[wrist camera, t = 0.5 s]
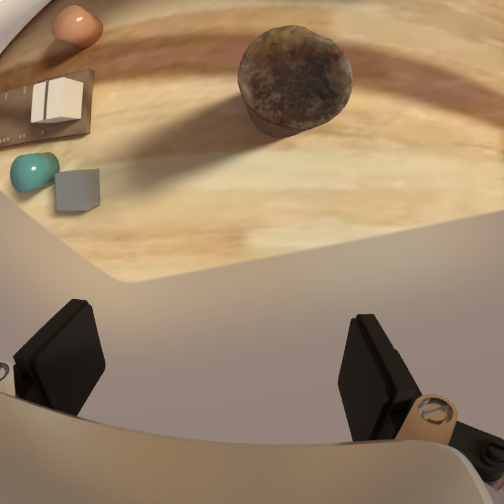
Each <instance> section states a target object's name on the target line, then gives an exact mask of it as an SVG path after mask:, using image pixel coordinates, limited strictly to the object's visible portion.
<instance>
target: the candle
mask: <svg viewBox="0 0 504 504" xmlns="http://www.w3.org/2000/svg"><path fill="white" fill-rule="evenodd" d="M238 85H239V88H240V92H241V95H242V97H243V99H244V101H245V103H246V105H247V108H248V110H249V113H250V116H251V118H252V120H253V122H254V123H255V125H256V126H257V127H258V128H259V129H260V130H261V131H263V132H264V133H266V134H268V135H271V136H274V137H290V136H294V135H296V134H299V133H301V132H303V131H306V130H309V129H312V128H315V127H317V126H320V125H322V124H325V123H327V122H328V121H330V120H331V119H333V118H334V117H335V116H337V115H338V114H339V113H340V112H341V111H342V109H343V108H344V107H345V105H346V104H347V102H348V100H349V97H350V94H351V91H352V86H353V81H352V70H351V66H350V63H349V61H348V59H347V57H346V56H345V54H344V52H343V51H342V49H341V48H340V47H339V46H337V45H336V44H335V43H334V42H333V41H332V40H330V39H327V38H324V37H322V36H320V35H318V34H316V33H314V32H312V31H309V30H308V29H307V28H306V27H301V26H295V25H289V26H284V27H279V28H273V29H271V30H269V31H267V32H265V33H263V34H262V35H261V36H260V37H258V38H257V39H256V40H255V41H253V42H252V43H251V44H250V45H249V47H248V48H247V50H246V51H245V53H244V56H243V58H242V60H241V62H240V67H239V71H238Z"/></svg>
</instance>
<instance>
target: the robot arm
mask: <svg viewBox="0 0 504 504" xmlns="http://www.w3.org/2000/svg"><path fill="white" fill-rule="evenodd" d="M13 358H14V360H15V362H16V364H15V365H14V366H13V365H12V364H11V363H10V362H8V361H6V360H0V504H504V440H503V439H501V438H499V437H496V436H493V435H491V434H489V433H486V432H483V431H481V430H478V429H476V428H473V427H471V426H468V425H466V424H464V423H461V422H459V421H456V420H457V415H458V412H457V409H456V407H455V406H454V404H453V403H452V402H451V401H450V400H449V399H447V398H445V397H443V396H440V395H436V394H427V395H422V393H421V392H420V390H419V388H418V386H417V384H416V382H415V381H414V379H413V377H412V376H411V374H410V372H409V370H408V368H407V366H406V365H405V363H404V361H403V359H402V358H401V356H400V354H399V353H398V351H397V350H395V349H394V348H393V346H392V344H391V342H390V341H389V339H388V337H387V336H386V334H385V332H384V330H383V329H382V327H381V325H380V324H379V322H378V320H377V319H376V317H375V315H374V314H358V315H357V316H356V318H352V319H351V322H350V327H349V332H348V337H347V342H346V346H345V351H344V356H343V360H342V364H341V369H340V373H339V378H338V386H339V391H340V394H341V398H342V401H343V405H344V409H345V413H346V417H347V420H348V424H349V428H350V432H351V436H352V440H353V442H341V443H324V444H247V443H230V442H217V441H206V440H197V439H188V438H180V437H173V436H166V435H160V434H153V433H148V432H143V431H137V430H132V429H127V428H123V427H118V426H113V425H109V424H104V423H101V422H96V421H92V420H88V419H85V418H81V417H78V416H77V415H78V413H79V412H80V410H81V408H82V407H83V405H84V403H85V402H86V400H87V398H88V396H89V395H90V393H91V391H92V390H93V388H94V386H95V385H96V383H97V382H98V380H99V379H100V377H101V375H102V374H103V372H104V370H105V359H104V355H103V352H102V348H101V344H100V340H99V336H98V332H97V327H96V323H95V318H94V314H93V309H92V306H91V305H89V303H88V302H87V301H86V300H79V299H72V300H71V301H69V302H68V303H67V304H66V305H65V306H64V307H63V308H62V309H61V310H60V311H59V312H58V313H56V314H55V315H54V316H53V317H52V318H51V319H50V320H49V321H48V322H47V323H46V324H45V325H44V326H43V327H42V328H41V329H40V330H39V331H38V332H37V333H36V334H35V335H34V336H33V337H32V338H31V339H30V340H29V341H28V342H27V343H26V344H25V345H24V346H23V347H22V348H21V349H20V350H19V351H18V352H17V353H16V354H15V355H14V356H13Z"/></svg>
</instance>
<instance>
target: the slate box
mask: <svg viewBox="0 0 504 504" xmlns="http://www.w3.org/2000/svg"><path fill="white" fill-rule="evenodd" d="M55 189H56V206H57V211H87V210H90V209H92V208H94V207H97V206H99V205H100V187H99V169H87V170H71V171H65V172H59V173H55Z"/></svg>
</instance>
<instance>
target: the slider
mask: <svg viewBox="0 0 504 504" xmlns="http://www.w3.org/2000/svg"><path fill="white" fill-rule="evenodd" d="M82 94H83V83H82V82H79V81H75V80H72V79H68V78H65V77H62V78H57V79H54V80H50V81H46V82H42V83H39V84H35V85H34V87H33V98H32V112H31V123H57V122H63V121H69V120H76V119H81V109H82Z"/></svg>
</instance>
